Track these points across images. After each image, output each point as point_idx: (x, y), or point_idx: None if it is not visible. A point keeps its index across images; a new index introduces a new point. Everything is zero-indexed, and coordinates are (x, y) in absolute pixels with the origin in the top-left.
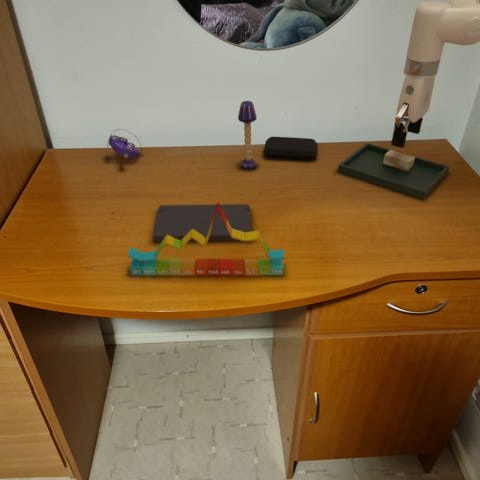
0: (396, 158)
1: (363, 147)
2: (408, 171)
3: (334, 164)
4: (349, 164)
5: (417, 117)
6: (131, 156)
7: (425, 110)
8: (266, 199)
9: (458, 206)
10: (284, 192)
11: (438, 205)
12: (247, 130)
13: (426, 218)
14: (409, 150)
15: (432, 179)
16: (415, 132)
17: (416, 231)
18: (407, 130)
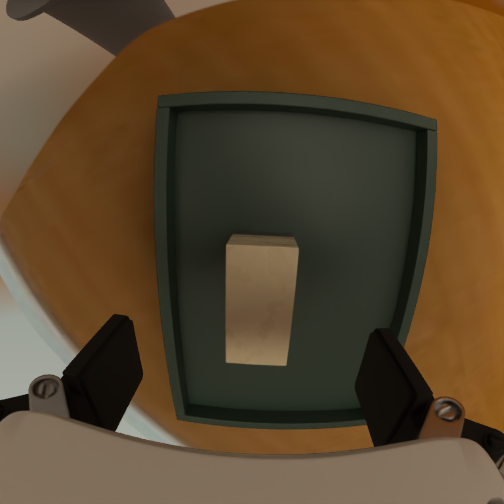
0: (292, 315)
1: (216, 421)
2: (281, 234)
3: (325, 429)
4: (322, 409)
5: (434, 478)
6: None
7: (113, 486)
8: (491, 414)
9: (384, 22)
10: (471, 414)
11: (419, 75)
12: None
13: (488, 104)
14: (88, 292)
15: (273, 125)
16: (131, 334)
17: None
18: (141, 377)
